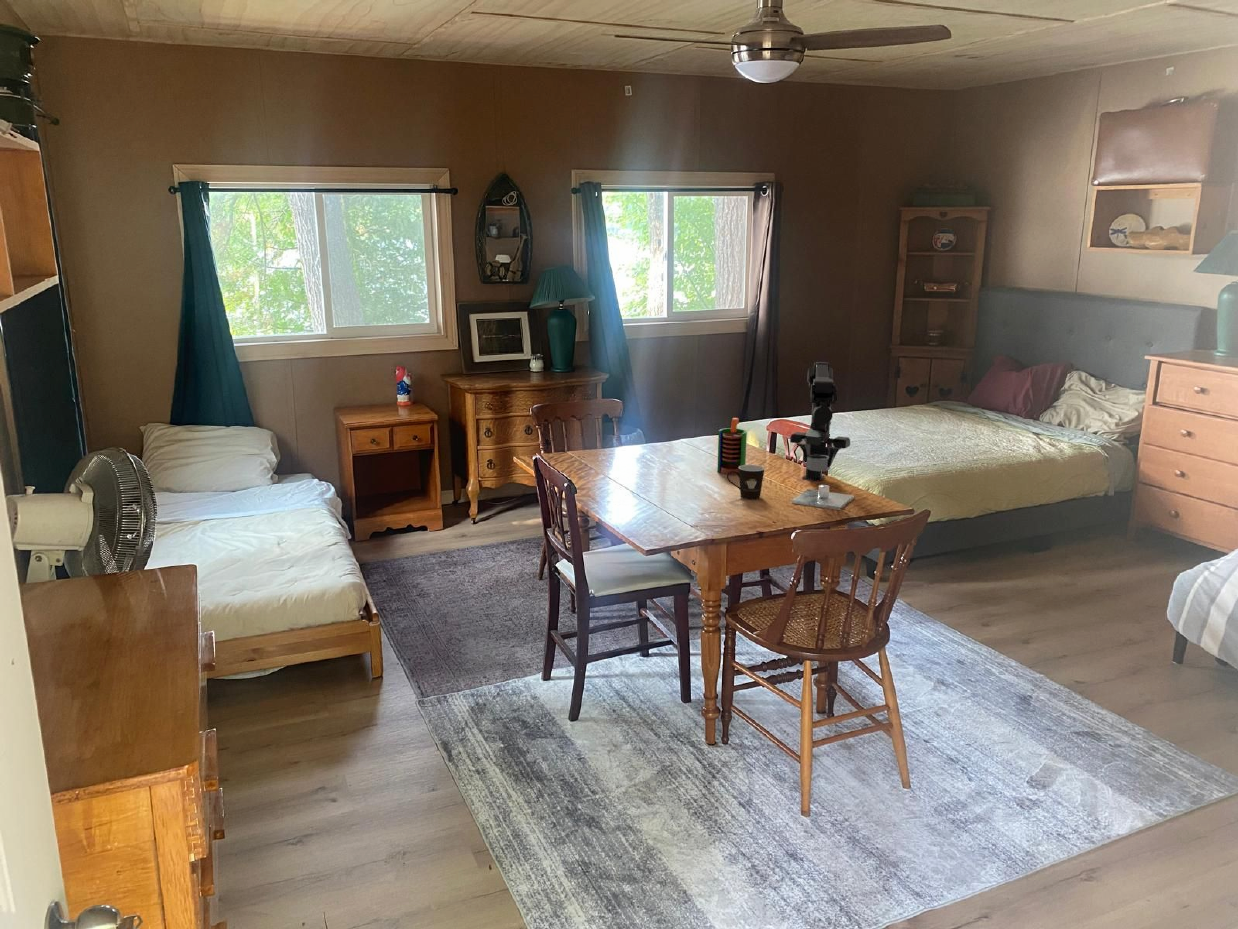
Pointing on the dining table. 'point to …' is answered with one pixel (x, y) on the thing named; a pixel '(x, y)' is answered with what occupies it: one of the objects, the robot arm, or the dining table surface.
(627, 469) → the dining table surface
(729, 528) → the dining table surface
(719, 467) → the motor
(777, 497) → the dining table surface
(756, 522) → the dining table surface
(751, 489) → the coffee mug
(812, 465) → the octagonal hollow lampshade
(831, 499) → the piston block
